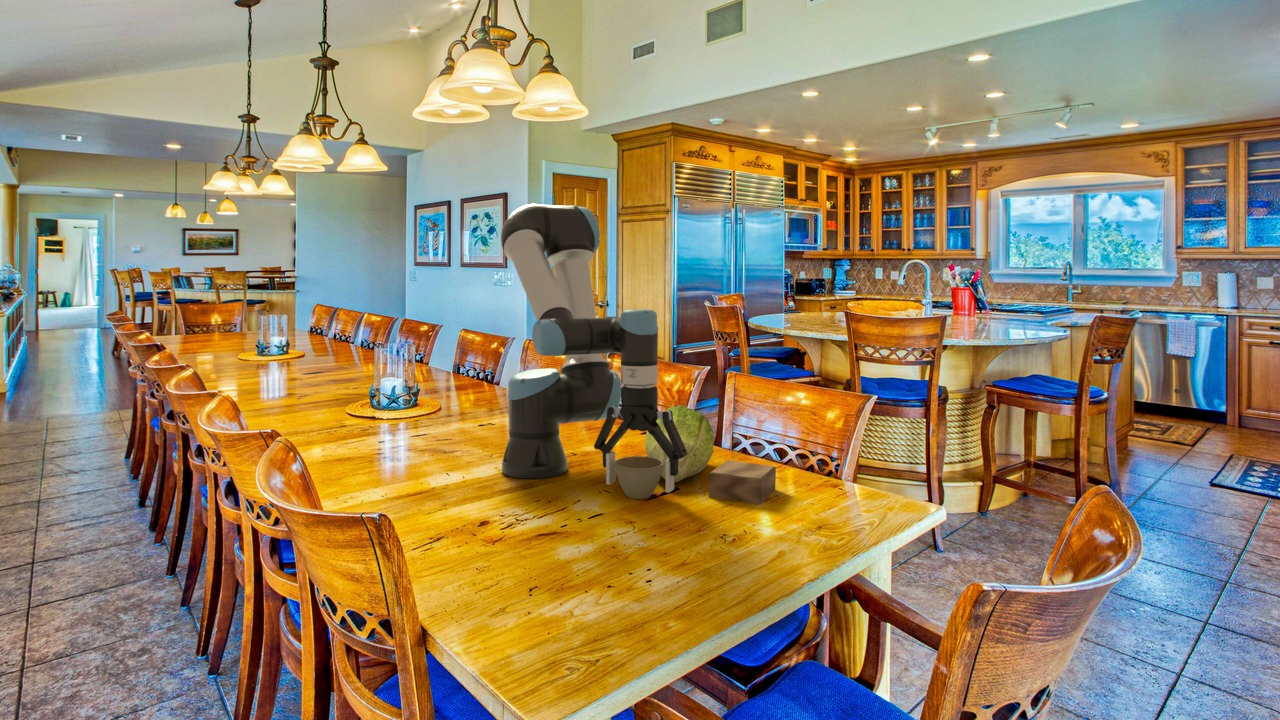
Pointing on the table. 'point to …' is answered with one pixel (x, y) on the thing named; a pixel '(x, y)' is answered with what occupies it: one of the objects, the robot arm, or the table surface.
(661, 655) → the table surface
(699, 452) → the lettuce
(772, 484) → the walnut block
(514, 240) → the robot arm
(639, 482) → the flower pot
